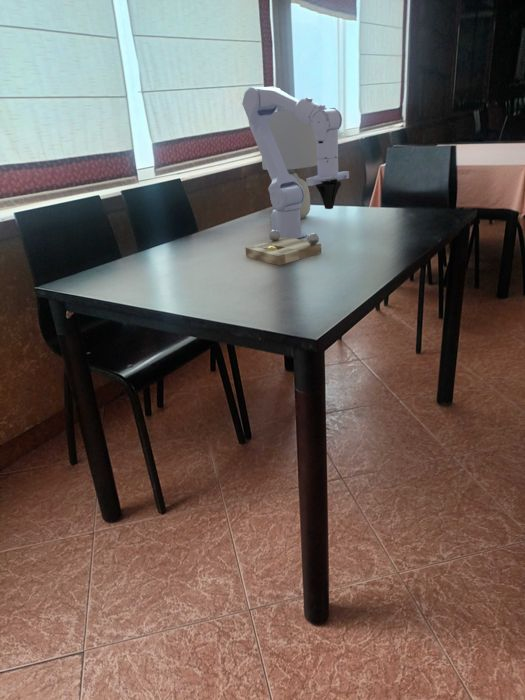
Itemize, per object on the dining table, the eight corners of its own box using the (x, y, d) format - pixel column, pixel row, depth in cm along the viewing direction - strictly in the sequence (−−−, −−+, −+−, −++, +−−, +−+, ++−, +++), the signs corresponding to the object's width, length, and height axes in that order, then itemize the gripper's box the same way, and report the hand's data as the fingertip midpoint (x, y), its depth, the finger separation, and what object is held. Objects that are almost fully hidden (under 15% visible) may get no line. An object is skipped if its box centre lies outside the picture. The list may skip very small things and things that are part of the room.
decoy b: (304, 245, 135) (304, 233, 133) (313, 242, 136) (313, 231, 135) (312, 246, 132) (312, 235, 131) (321, 244, 134) (321, 232, 133)
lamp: (270, 214, 194) (262, 111, 179) (322, 211, 191) (318, 105, 175) (263, 225, 176) (253, 111, 160) (320, 222, 173) (316, 105, 157)
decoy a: (267, 241, 143) (266, 230, 142) (276, 238, 145) (275, 227, 143) (274, 242, 141) (273, 231, 139) (283, 240, 142) (282, 229, 141)
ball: (262, 249, 135) (271, 243, 136) (266, 259, 137) (275, 254, 138) (268, 249, 133) (277, 243, 134) (272, 260, 134) (281, 254, 135)
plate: (246, 256, 139) (245, 247, 138) (287, 245, 147) (286, 236, 146) (278, 265, 128) (278, 255, 127) (321, 252, 136) (321, 243, 135)
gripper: (317, 161, 128) (319, 214, 134) (356, 154, 136) (357, 205, 141) (300, 161, 133) (302, 212, 139) (338, 154, 141) (339, 203, 147)
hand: (329, 208), depth 141 cm, fingers closed
